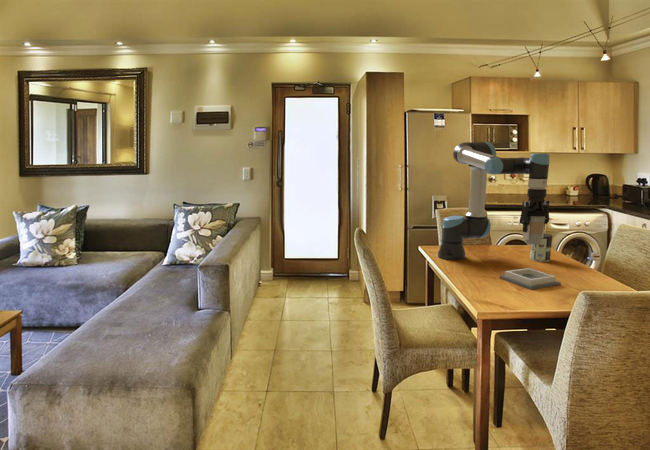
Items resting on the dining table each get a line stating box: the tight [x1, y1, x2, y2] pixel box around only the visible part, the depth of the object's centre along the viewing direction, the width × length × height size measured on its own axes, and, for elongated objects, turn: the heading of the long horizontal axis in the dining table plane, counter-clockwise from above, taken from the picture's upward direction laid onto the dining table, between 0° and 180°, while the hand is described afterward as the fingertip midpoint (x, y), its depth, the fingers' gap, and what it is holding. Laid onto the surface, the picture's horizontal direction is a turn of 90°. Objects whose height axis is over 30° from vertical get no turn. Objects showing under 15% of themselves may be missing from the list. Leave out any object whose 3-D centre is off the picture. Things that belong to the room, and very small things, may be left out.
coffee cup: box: [524, 210, 547, 245], centre depth 185 cm, size 9×9×15 cm
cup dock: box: [499, 267, 562, 291], centre depth 189 cm, size 18×18×4 cm
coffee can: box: [529, 233, 553, 263], centre depth 227 cm, size 10×10×14 cm
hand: (533, 238), depth 186 cm, fingers closed on coffee cup, 8 cm apart
